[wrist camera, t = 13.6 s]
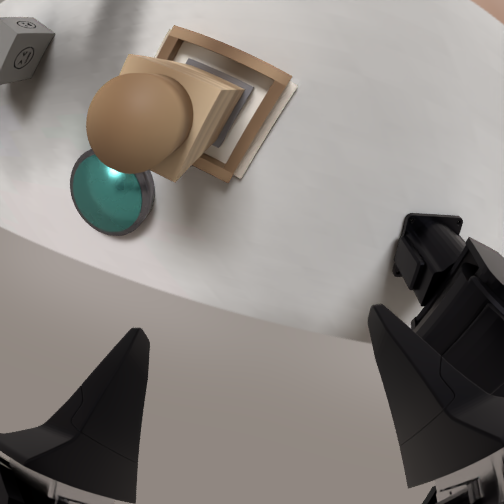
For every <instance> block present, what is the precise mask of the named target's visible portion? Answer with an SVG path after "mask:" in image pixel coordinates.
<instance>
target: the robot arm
mask: <svg viewBox="0 0 504 504" xmlns="http://www.w3.org/2000/svg"><path fill="white" fill-rule="evenodd" d="M411 218H413V220H412V221H410V219H411ZM458 221H459V222H458ZM457 222H458V223H457ZM462 224H463V220H462V218H461V217H460V216H451V215H436V214H419V213H410V214H408V215H407V216H406V219H405V224H404V228H403V233H402V236H401V237H400V240H399V244H398V248H397V252H396V256H395V259H394V261H395V264H394V267H393V274H394V276H395V277H403V278H404V280H405V282H406V284H407V286H408V288H409V289H410V290H414V292H415V294H416V296H417V298H418V300H419V302H420V304H421V306H425V307H424V308H423V309H422V310H421V312H420V313H419V314H418V316H417V317H415V318H414V319H413V320H412V321H411V328H409V327H408V326H407V325H406V324H405V323H404V322H403V321H401V320H400V319H399V318H398V317H397V316H396V315H394V314H393V313H392V312H391V311H390V310H389V309H387V308H386V307H385V306H384V305H383V304H376V305H372V306H371V309H370V313H369V317H368V327H369V331H370V336H371V340H372V345H373V350H374V355H375V359H376V362H377V366H378V369H379V372H380V375H381V378H382V382H383V385H384V389H385V392H386V395H387V399H388V402H389V406H390V410H391V414H392V417H393V421H394V425H395V429H396V433H397V437H398V441H399V446H400V451H401V455H402V460H403V465H404V469H405V475H406V480H407V486H408V488H412V487H415V486H418V485H421V484H424V483H427V482H430V481H433V480H435V484H436V486H434V487H432V489H431V491H430V492H429V494H428V495H427V497H426V499H425V500H424V501H423V503H422V504H504V258H503V257H502V256H501V255H500V254H499V253H498V252H497V251H495V250H493V249H491V248H489V247H488V246H486V245H484V244H482V243H480V242H478V241H476V240H474V239H472V238H470V237H469V238H468V239H467V241H466V242H465V241H464V240H463V239H462V238H461V236H460V235H459V233H460V230H461V227H462ZM397 271H398V272H397ZM149 350H150V342H149V339H148V338H147V336H146V334H145V333H144V331H143V330H142V329H141V328H131V329H130V330H129V331H128V333H127V334H126V335H125V336H124V337H123V338H122V339H121V340H120V341H119V343H118V344H117V345H116V346H115V347H114V348H113V349H112V350H111V352H110V353H109V354H108V355H107V356H106V357H105V358H104V359H103V361H102V362H101V363H100V364H99V365H98V366H97V368H96V369H95V370H94V371H93V372H92V373H91V374H90V375H89V377H88V378H87V379H86V380H85V381H84V382H83V384H82V386H80V387H79V388H78V389H77V391H76V392H75V393H74V394H73V395H72V396H71V397H70V399H69V400H68V401H67V402H66V403H65V404H64V405H63V406H62V407H61V408H60V409H59V410H58V411H57V412H56V413H55V414H54V415H53V416H52V417H51V418H50V419H49V420H48V421H47V422H45V423H44V424H43V425H41V426H38V427H35V428H31V429H27V430H22V431H17V432H12V433H6V434H2V433H0V451H2V452H3V453H4V454H6V455H7V456H9V457H10V461H9V460H7V459H5V458H3V457H2V456H0V504H114V502H115V500H120V501H124V502H129V503H136V485H137V468H138V454H139V442H140V432H141V424H142V416H143V408H144V401H145V394H146V387H147V380H148V366H149Z"/></svg>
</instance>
